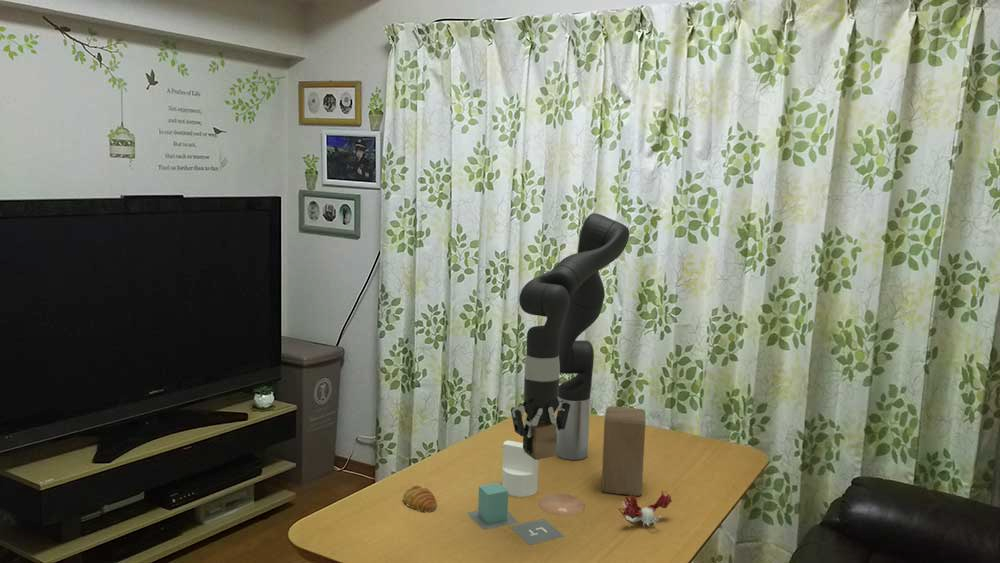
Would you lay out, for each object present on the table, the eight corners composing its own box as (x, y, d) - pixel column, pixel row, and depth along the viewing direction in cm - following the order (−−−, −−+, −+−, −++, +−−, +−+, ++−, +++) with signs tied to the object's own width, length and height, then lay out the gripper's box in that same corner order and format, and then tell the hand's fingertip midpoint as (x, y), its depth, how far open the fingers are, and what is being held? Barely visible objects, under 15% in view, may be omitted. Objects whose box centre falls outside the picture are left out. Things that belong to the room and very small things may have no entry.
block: (641, 497, 179) (645, 420, 176) (601, 493, 180) (604, 417, 178) (641, 481, 188) (645, 408, 185) (603, 477, 190) (606, 404, 187)
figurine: (649, 504, 175) (650, 478, 174) (683, 525, 165) (684, 497, 164) (599, 517, 168) (601, 490, 167) (632, 540, 158) (633, 511, 157)
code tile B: (466, 514, 167) (466, 512, 167) (501, 507, 172) (501, 505, 171) (483, 531, 160) (483, 529, 159) (519, 523, 164) (519, 521, 164)
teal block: (478, 514, 167) (478, 486, 166) (497, 510, 169) (498, 482, 168) (487, 524, 162) (488, 494, 161) (507, 519, 164) (508, 490, 163)
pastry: (444, 510, 170) (444, 495, 169) (419, 518, 166) (419, 502, 165) (424, 496, 177) (424, 481, 177) (399, 503, 173) (399, 488, 173)
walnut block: (524, 451, 158) (524, 421, 157) (543, 448, 160) (544, 418, 159) (535, 460, 153) (536, 428, 152) (555, 456, 156) (556, 425, 155)
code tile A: (509, 528, 161) (509, 526, 161) (544, 520, 165) (544, 518, 165) (528, 546, 153) (528, 544, 153) (564, 538, 157) (564, 536, 157)
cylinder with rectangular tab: (542, 487, 183) (544, 442, 182) (529, 501, 175) (530, 454, 173) (510, 480, 187) (511, 436, 185) (495, 493, 179) (497, 447, 177)
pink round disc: (530, 501, 175) (530, 498, 175) (568, 493, 180) (568, 491, 180) (553, 520, 165) (553, 518, 165) (593, 511, 170) (593, 509, 170)
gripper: (561, 367, 161) (558, 440, 163) (504, 374, 154) (502, 449, 157) (579, 376, 154) (576, 451, 157) (520, 383, 148) (518, 462, 150)
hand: (539, 450), depth 157 cm, fingers closed on walnut block, 5 cm apart
